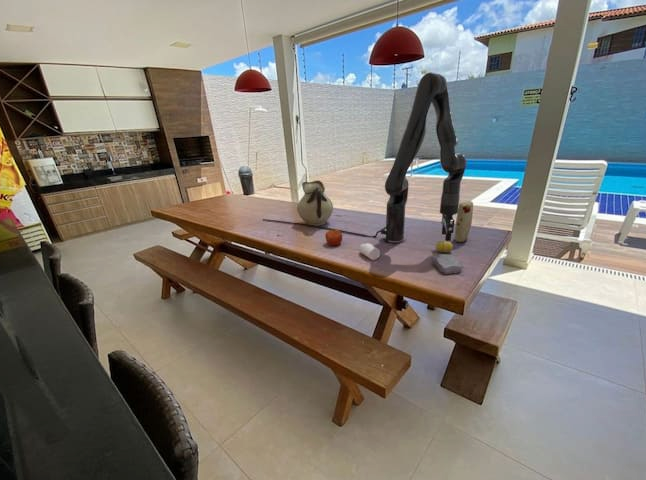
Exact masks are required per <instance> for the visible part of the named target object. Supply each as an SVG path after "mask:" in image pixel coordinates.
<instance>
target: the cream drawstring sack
mask: <svg viewBox="0 0 646 480" xmlns="http://www.w3.org/2000/svg"><path fill="white" fill-rule="evenodd" d="M301 187H302V190H303V192H304V194H303V196H302V197H301V199H300V200H298V203H297V206H296V211H297V214H298V216H299V217H300V218H301V220H302V221H304V222H305V224H308V225H314V226H320V227H321V226H323V225H325V224H326V222H327V221H328V220H329V219H330V218H331V216H332V214H333V211H334V204H333V202H332V200H331V199H330V198H329V197H328V196H327V195H326V194H325V191H326V188H325V184H324V183H323V182H322V181H321V180H313V181H303V182H302V184H301Z"/></svg>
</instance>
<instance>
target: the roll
mask: <svg viewBox="0 0 646 480" xmlns="http://www.w3.org/2000/svg"><path fill="white" fill-rule="evenodd" d="M359 247H360V252H361V253H362V254H363V255H364V256H365V257H367V258H368V259H369V260H372V261H375V260H377V259H378V258H379V257H380V256H381V251H380V250H379V248H377V247H375V246H374V244H371V243H361V244H360V246H359Z"/></svg>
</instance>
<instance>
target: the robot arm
mask: <svg viewBox="0 0 646 480" xmlns="http://www.w3.org/2000/svg"><path fill="white" fill-rule="evenodd" d="M413 99H414V100H413V104H412V108H411V110H410V114H409V116H408V120H407V123H406V125H405V128H404V130H403V134H402V137H401V139H400V142H399V145H398V149H397V152H396V156H395V157H394V161H393V164H392V167H391V169H390V171H389V174H388V175H387V178H386V180H385V183H384V190H385V192H386V194H387V195H389V197H388V199H387V202H386V211H385V212H386V215H385V216H386V218H385V226H384V227H382V228H381V229H379V230H378V231H376V233H375V235H374V236H373V235H367V234H363V233H358V232H352V231H347V230H342V229H336V228H332V227H326V226H321V225H320V226H314V225H308V224H306V223H300V222H292V221H284V220H275V219H267V218H263V219H262V220H263V221H266V222H275V223H283V224H284V223H285V224H292V225H300V226H305V227H312V228H313V227H314V228H318V229H319V228H320V229H324V230H329V231H330V230H332V229H333V230H334V229H336V230H339V231H340V232H341V233H346V234H351V235H355V236H356V235H357V236H360V237H366V238H376V237H378V234H379V233H380V234H381V235H385V237H384V239H385V243H391V244H399V243H403V242H404V240H405V222H406V221H405V220H406V205H407V203H408V197H409V179H408V177H407V173H408V170H409V169H410V167H411V165H412V163H413V162H414V160H415V159H416V157H417V156H418V154H419V152H420V150H421V148H422V146H423V143H424V140H425V138H426V137H425V136H426V134H427V133H426V132H427V117H428V112H429V110H430V107H431V105H432V106H433V110H434V114H435V134H436V139H437V142H438V145H439V159H440V160H439V162H440V166H441V169H442V170H443V171H444V172H445V173H446V174H448V175H447V177H446V178H444V180H443V182H442V190H441V196H440V205H439V214H441V221H440V223H441V226H442V227H441V235H445V238H444V241H449V242H451V241H452V234H454V233H455V230H454V229H455V222H456V219H454V217H453V216H454V215H457V214H458V209H459V204H460V197H461V196H460V194H461V193H460V192H461V184H462V179H463V177H464V175H465V171H466V168H467V158H466V156H465V155H464V154H463V153H456V149H455V148H456V147H457V146H458V143H459V141H458V140H459V139H458V137H457V133H456V130H455V126H454V125H455V124H454V121H453V118H452V111H451V104H450V97H449V87H448V81H447V79H446V77H445V76H444V75H442V74H440V73H436V72H433V71H431V72H430V71H429V72H427V73H424V75H422V77H421V78H420V80H419V82H418V84H417V87H416V91H415V95H414V98H413Z"/></svg>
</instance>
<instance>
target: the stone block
mask: <svg viewBox="0 0 646 480" xmlns="http://www.w3.org/2000/svg"><path fill="white" fill-rule="evenodd" d="M432 263H433V265H434V266H435V267H436V268H437V269H438V270H439V271H440V273H442V274H444V275H451V274H458V273H459V274H460V273H461V272H462V270H463V269H464V264H463V263H462V262H460V261H459V260H458V259H457V258H456V257H455V256H453V255H451V254H445V253H444V254H442V253H441V254H436V255H434V256H433V258H432Z"/></svg>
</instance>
